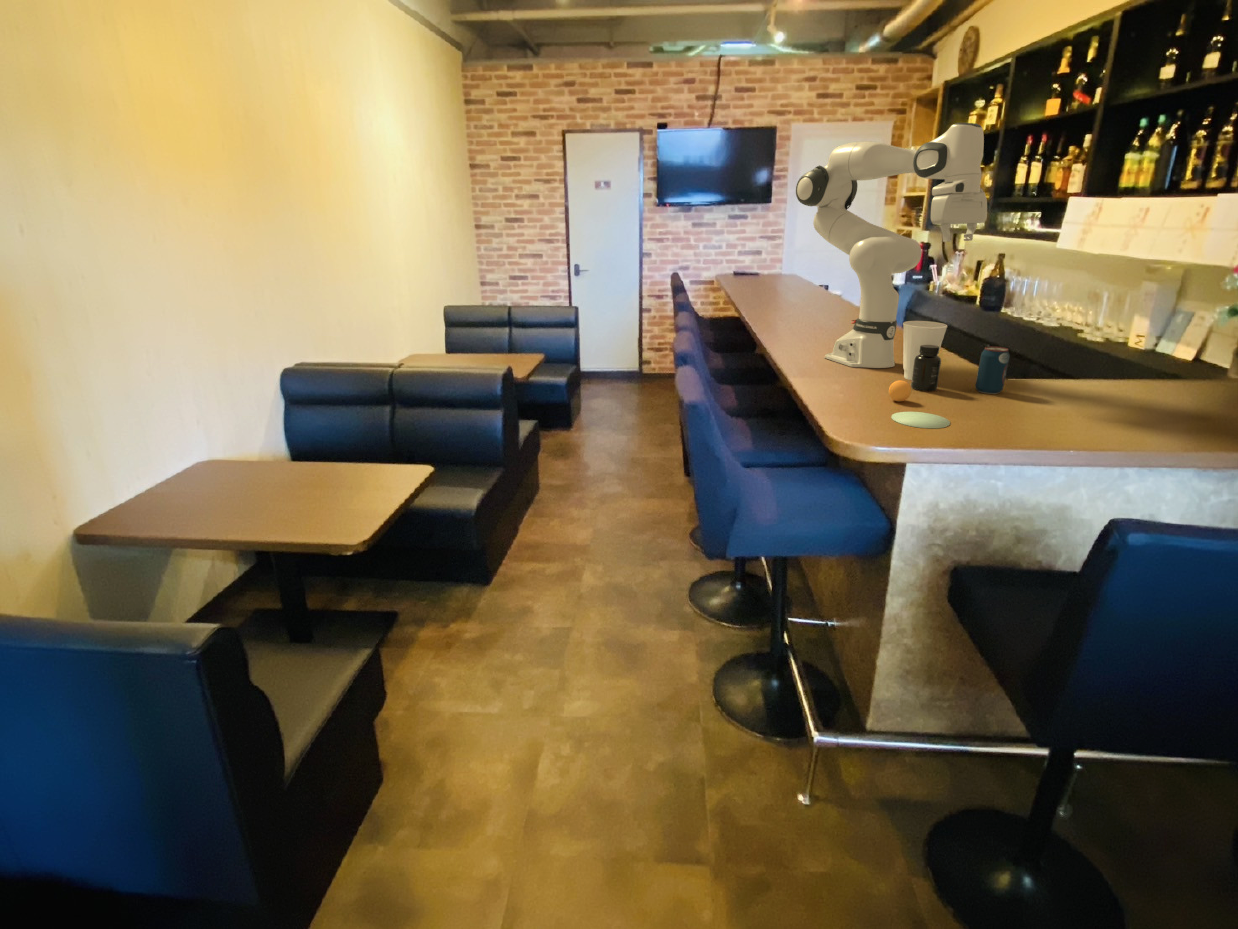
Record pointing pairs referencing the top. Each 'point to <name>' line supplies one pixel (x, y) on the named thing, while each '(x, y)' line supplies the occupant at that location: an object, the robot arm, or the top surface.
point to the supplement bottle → (926, 369)
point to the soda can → (992, 370)
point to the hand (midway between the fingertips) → (957, 241)
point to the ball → (899, 390)
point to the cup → (919, 341)
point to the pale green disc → (920, 420)
